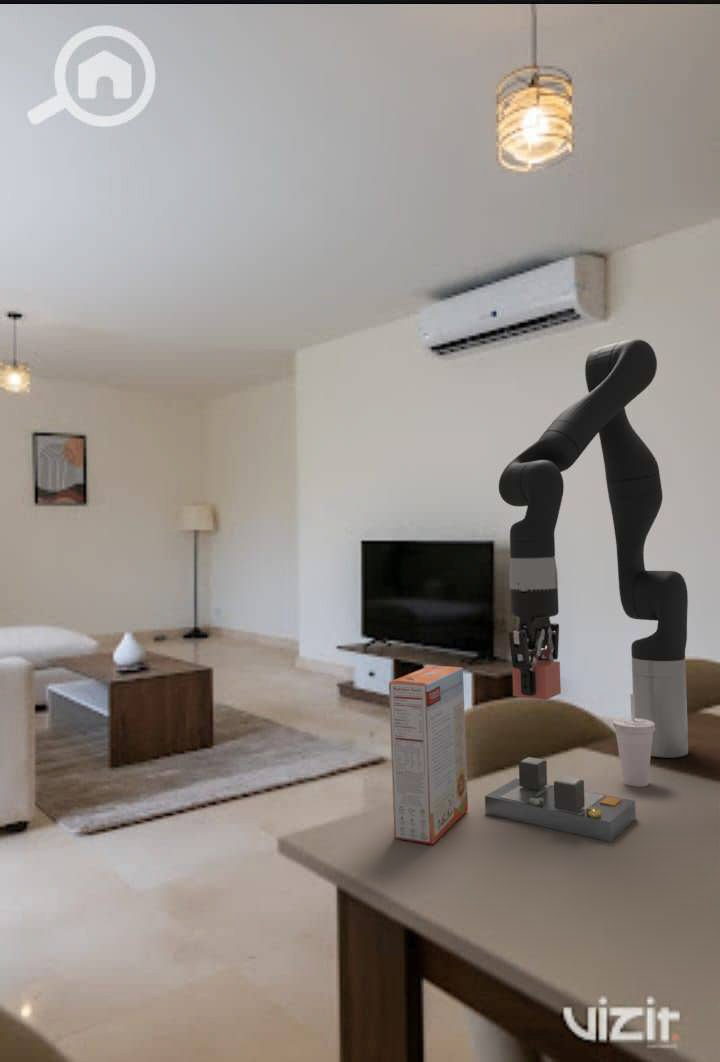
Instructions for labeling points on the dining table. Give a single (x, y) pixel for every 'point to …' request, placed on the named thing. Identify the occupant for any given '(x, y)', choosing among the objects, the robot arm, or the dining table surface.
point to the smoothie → (634, 747)
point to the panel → (562, 811)
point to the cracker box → (428, 752)
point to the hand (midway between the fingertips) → (536, 691)
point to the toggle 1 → (533, 773)
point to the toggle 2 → (569, 794)
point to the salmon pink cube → (540, 680)
